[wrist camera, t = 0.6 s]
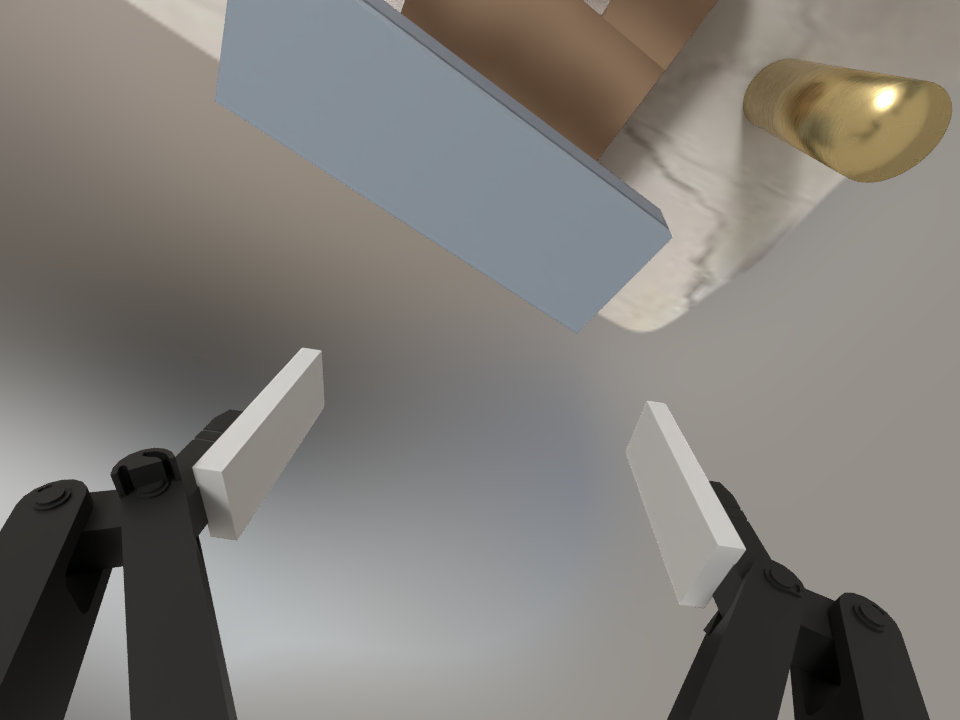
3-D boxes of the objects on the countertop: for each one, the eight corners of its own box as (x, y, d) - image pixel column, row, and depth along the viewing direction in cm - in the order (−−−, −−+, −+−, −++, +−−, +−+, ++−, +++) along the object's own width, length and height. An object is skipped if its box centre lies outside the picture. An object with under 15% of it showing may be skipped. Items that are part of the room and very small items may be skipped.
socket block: (537, -300, 21) (530, -354, 18) (760, -77, 25) (786, -91, 22) (398, 66, 32) (380, 71, 29) (565, 188, 36) (564, 203, 32)
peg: (822, 58, 28) (976, 81, 17) (794, 127, 30) (913, 184, 19) (756, 58, 28) (866, 80, 18) (734, 125, 31) (818, 180, 20)
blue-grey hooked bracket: (388, -38, 29) (238, -86, 16) (636, 155, 33) (672, 237, 20) (354, 71, 33) (214, 101, 20) (577, 228, 37) (576, 333, 25)
